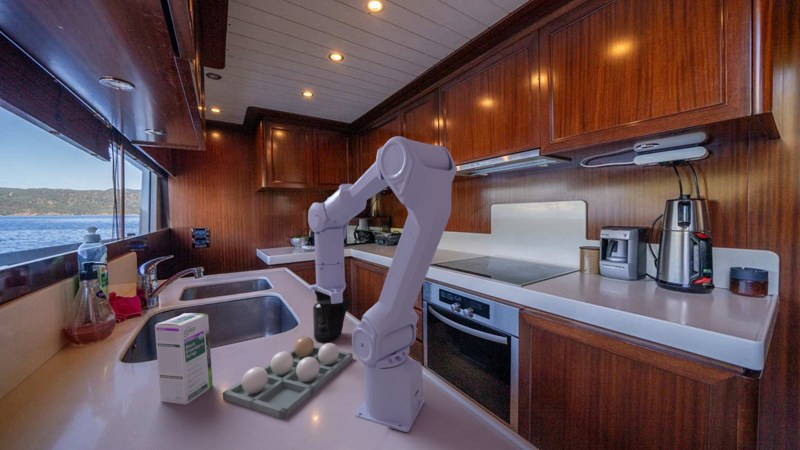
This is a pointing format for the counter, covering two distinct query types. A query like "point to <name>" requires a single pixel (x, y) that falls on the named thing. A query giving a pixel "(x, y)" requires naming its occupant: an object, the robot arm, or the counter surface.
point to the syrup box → (183, 357)
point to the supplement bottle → (320, 325)
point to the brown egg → (303, 346)
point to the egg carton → (287, 380)
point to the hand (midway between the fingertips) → (332, 328)
